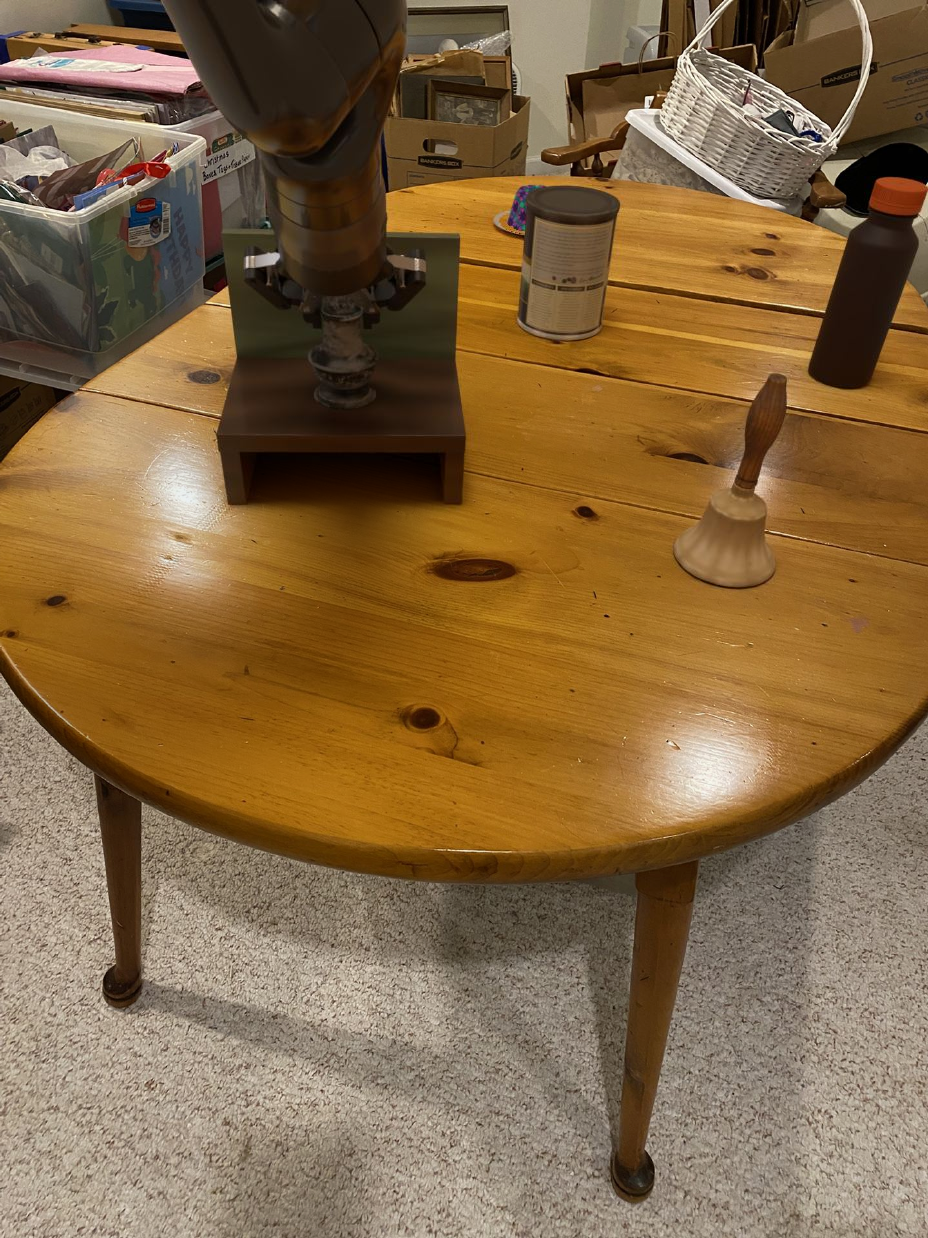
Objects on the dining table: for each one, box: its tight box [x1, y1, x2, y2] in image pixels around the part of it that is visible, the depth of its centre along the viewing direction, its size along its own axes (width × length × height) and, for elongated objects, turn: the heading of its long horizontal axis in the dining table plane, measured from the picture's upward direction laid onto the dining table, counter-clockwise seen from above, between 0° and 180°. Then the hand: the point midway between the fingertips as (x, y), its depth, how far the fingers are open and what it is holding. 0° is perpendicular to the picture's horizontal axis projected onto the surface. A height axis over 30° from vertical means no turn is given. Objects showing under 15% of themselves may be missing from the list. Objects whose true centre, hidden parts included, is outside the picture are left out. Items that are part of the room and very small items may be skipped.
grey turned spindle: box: [308, 295, 379, 409], centre depth 75 cm, size 6×6×12 cm
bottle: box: [807, 176, 928, 389], centre depth 96 cm, size 7×7×20 cm
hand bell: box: [672, 372, 788, 588], centre depth 71 cm, size 8×8×16 cm
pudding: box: [493, 184, 547, 236], centre depth 134 cm, size 12×12×5 cm
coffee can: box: [516, 184, 621, 342], centre depth 105 cm, size 10×10×14 cm
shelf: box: [215, 227, 467, 505], centre depth 79 cm, size 15×20×18 cm
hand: (342, 317), depth 77 cm, fingers closed on grey turned spindle, 3 cm apart
